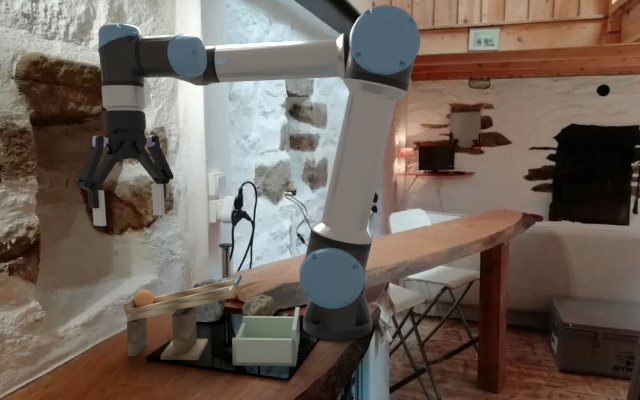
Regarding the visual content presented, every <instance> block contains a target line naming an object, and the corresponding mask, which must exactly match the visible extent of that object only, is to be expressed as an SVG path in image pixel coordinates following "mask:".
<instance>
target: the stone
mask: <svg viewBox="0 0 640 400" xmlns="http://www.w3.org/2000/svg"><path fill="white" fill-rule="evenodd" d="M218 282H220V281H219V280H217V279H213V278H210V279H206V280H204V281H202V282H198V283H196V284H194V285H193V287H192V288H197V287H201V286H205V285H209V284H214V283H218ZM226 301H227V299H223V300H219V301H215V302H210V303H206V304H202V305H197V306H196V323H198V322H199V323H200V322H201V323H202V322H203V323H212V322H216V321H219V320H220V318H221V316H222V315H223V311H224V310H225V305H226V304H225V303H226Z"/></svg>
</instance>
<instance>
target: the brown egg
mask: <svg viewBox="0 0 640 400" xmlns="http://www.w3.org/2000/svg"><path fill="white" fill-rule="evenodd" d="M134 295H135V297H134V303H135V305H136V306H137V307H142V306H146V305H151V304H152V303H153V300H154V297H155V296H154V295H153V292H151V290H148V289H141V290H138V291H137V292H136V293H135V294H134Z"/></svg>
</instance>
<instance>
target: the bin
mask: <svg viewBox="0 0 640 400" xmlns="http://www.w3.org/2000/svg"><path fill="white" fill-rule="evenodd" d="M300 312H301V311H300V306H296V307H295V309H294V313H293V315H294V316H282V315H281V316H279V315H277V316H274V315H272V316H247V315H243V316H242V323H241V324H240V327H239V329H238V331H237V334H236V336H235V337H232V341H231V342H232V343H231V346H232V347H231V348H232V349H231V351H232V356H231V357H232V366H239V367H240V366H245V367H246V366H248V367H251V366H252V367H256V366H257V367H296V366H297V360H298V354H297V353H299V347H300V346H299V345H300V321H301V320H300V314H301V313H300ZM298 346H299V347H298Z"/></svg>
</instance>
